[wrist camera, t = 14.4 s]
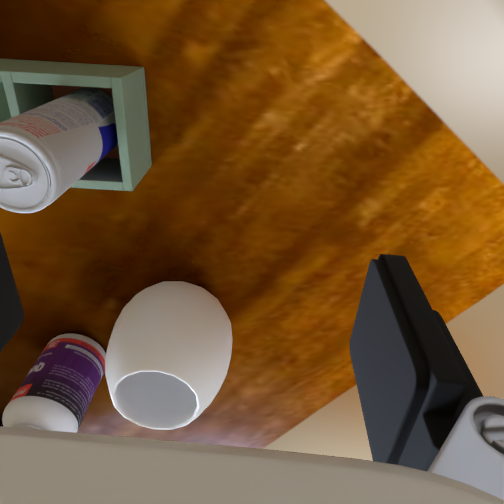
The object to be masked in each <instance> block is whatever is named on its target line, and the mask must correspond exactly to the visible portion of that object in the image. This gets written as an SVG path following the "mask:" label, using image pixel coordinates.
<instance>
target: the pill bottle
mask: <svg viewBox="0 0 504 504" xmlns="http://www.w3.org/2000/svg"><path fill="white" fill-rule="evenodd" d="M105 356H106V353H105V351H104V350H103V348H102V347H101V346H100V345H99V344H98V343H97V342H96V341H94V340H93V339H91V338H89V337H86V336H83V335H80V334H73V333H68V334H62V335H59V336H56V337H55V338H53V339H52V340H51V341H50V342H49V343H48V344H47V346H46V347H45V349H44V350H43V352H42V353H41V355H40V356H39V358H38V359H37V361H36V362H35V364H34V365H33V367H32V368H31V370H30V371H29V373H28V374H27V376H26V377H25V379H24V381H23V382H22V384H21V385H20V387H19V388H18V390H17V391H16V393H15V394H14V396H13V397H12V399H11V400H10V402H9V403H8V405H7V406H6V408H5V410H4V412H3V416H2V423H3V427H14V428H26V429H38V430H50V431H62V432H74V433H77V431H78V429H79V426H80V424H81V422H82V420H83V417H84V415H85V413H86V411H87V409H88V406H89V404H90V402H91V400H92V398H93V395H94V393H95V391H96V389H97V387H98V385H99V383H100V380H101V378H102V376H103V374H104V372H105Z"/></svg>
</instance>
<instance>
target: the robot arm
mask: <svg viewBox="0 0 504 504" xmlns="http://www.w3.org/2000/svg"><path fill="white" fill-rule="evenodd" d="M23 318H24V312H23V308H22V305H21V302H20V298H19V295H18V291H17V288H16V284H15V281H14V278H13V274H12V271H11V267H10V264H9V260H8V257H7V254H6V250H5V247H4V243H3V240H2V236H1V234H0V352H1V350H2V349H3V348H4V347H5V345H6V344H7V343H8V341H9V340H10V339H11V338H12V336H13V335H14V334H15V333H16V331H17V330H18V329H19V327H20V326H21V324H22V322H23ZM350 355H351V359H352V364H353V369H354V373H355V378H356V383H357V387H358V392H359V397H360V402H361V406H362V411H363V415H364V420H365V425H366V430H367V435H368V439H369V444H370V448H371V453H372V458H373V461H368V460H362V459H353V458H344V457H335V456H325V455H316V454H306V453H297V452H287V451H279V450H268V449H256V448H245V447H234V446H223V445H212V444H201V443H190V442H178V441H167V440H156V439H145V438H133V437H121V436H109V435H98V434H86V433H74V432H62V431H50V430H38V429H26V428H14V427H2V426H0V504H504V399H500V398H496V397H483V395H482V393H481V391H480V389H479V387H478V385H477V383H476V381H475V380H474V378H473V376H472V374H471V372H470V370H469V368H468V366H467V364H466V362H465V360H464V359H463V357H462V355H461V353H460V351H459V349H458V347H457V346H456V344H455V342H454V340H453V338H452V336H451V334H450V332H449V330H448V328H447V326H446V324H445V323H444V321H443V319H442V317H441V315H440V314H439V313H438V312H437V311H435V310H432V308H431V306H430V304H429V302H428V300H427V298H426V296H425V294H424V292H423V290H422V289H421V287H420V285H419V283H418V281H417V279H416V277H415V275H414V273H413V271H412V269H411V267H410V265H409V263H408V261H407V259H406V258H405V256H398V255H385V254H381V255H380V256H379V257H378V260H376V259H372V260H371V262H370V264H369V268H368V272H367V276H366V280H365V284H364V288H363V292H362V296H361V299H360V303H359V307H358V311H357V315H356V319H355V323H354V327H353V331H352V335H351V339H350Z"/></svg>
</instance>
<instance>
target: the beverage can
mask: <svg viewBox="0 0 504 504" xmlns="http://www.w3.org/2000/svg"><path fill="white" fill-rule="evenodd" d="M117 145H118V138H117V129H116V121H115V113H114V104H113V97H112V96H111V95H110V94H108V93H107V92H105V91H103V90H100V89H97V88H82V89H79V90H77V91H75V92H72V93H70V94H67V95H65V96H63V97H60V98H58V99H56V100H53V101H51V102H48V103H46V104H44V105H41V106H39V107H36V108H34V109H32V110H29V111H27V112H25V113H22V114H20V115H17V116H15V117H13V118H10V119H8V120H5V121H3V122H1V123H0V207H1V208H3V209H5V210H8V211H12V212H17V213H32V212H37V211H40V210H41V209H43V208H45V207H46V206H48V205H50V204H51V203H53V202H54V201H55V200H56V199H57V198H58V197H60V196H61V195H62V194H63V193H64V192H65V191H66V190H67V189H69V188H70V187H71V186H72V185H73V184H74V183H75V182H76V181H78V180H79V179H80V178H81V177H82V176H83V175H84V174H85V173H87V172H88V171H89V170H90V169H91V168H92V167H93V166H94V165H96V164H97V163H98V162H99V161H100V160H101V159H102V158H103V157H105V156H106V155H107V154H108V153H109V152H110V151H111V150H112V149H114V148H115V147H116V146H117Z"/></svg>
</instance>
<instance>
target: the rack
mask: <svg viewBox="0 0 504 504" xmlns="http://www.w3.org/2000/svg"><path fill="white" fill-rule="evenodd" d="M82 88H97V89H100V90H103V91H105V92H107V93H108V94H110V95H111V96H112V97H113V104H114V113H115V121H116V129H117V138H118V145H117V146H116V147H115V148H114V149H112V150H111V151H110V152H109V153H108V154H107V155H106V156H105V157H103V158H102V159H101V160H100V161H99V162H98V163H97V164H96V165H94V166H93V167H92V168H91V169H90V170H89V171H88V172H87V173H85V174H84V175H83V176H82V177H81V178H80V179H79V180H78V181H76V182H75V183H74V184H73V185H72V186H71V187H72V188H89V189H105V190H122V191H123V190H124V191H133V190H134V188H135V187H136V186H137V184H138V183H139V182H140V180H141V179H142V178H143V177H144V175H145V174H146V173H147V171H148V170H149V169H150V167H151V166H152V160H151V147H150V135H149V122H148V109H147V96H146V84H145V71H144V67H138V66H120V65H103V64H85V63H68V62H50V61H33V60H15V59H0V123H1V122H3V121H5V120H8V119H10V118H13V117H15V116H17V115H20V114H22V113H25V112H27V111H29V110H32V109H34V108H36V107H39V106H41V105H44V104H46V103H48V102H51V101H53V100H56V99H58V98H60V97H63V96H65V95H67V94H70V93H72V92H75V91H77V90H79V89H82Z"/></svg>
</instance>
